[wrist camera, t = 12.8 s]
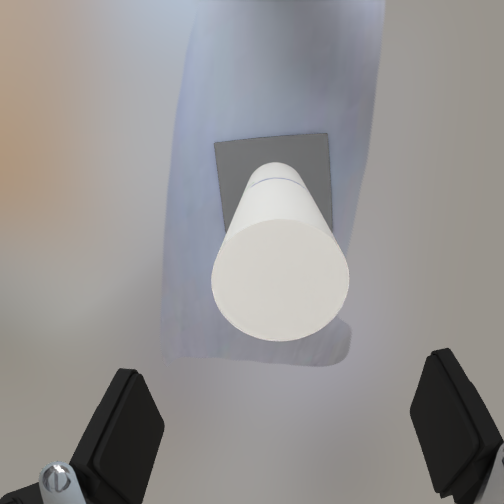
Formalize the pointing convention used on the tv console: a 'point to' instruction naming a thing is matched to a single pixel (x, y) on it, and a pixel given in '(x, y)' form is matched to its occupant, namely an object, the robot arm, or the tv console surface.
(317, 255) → the cylindrical container
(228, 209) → the rubber mat
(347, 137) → the tv console surface
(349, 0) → the tv console surface
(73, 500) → the robot arm
